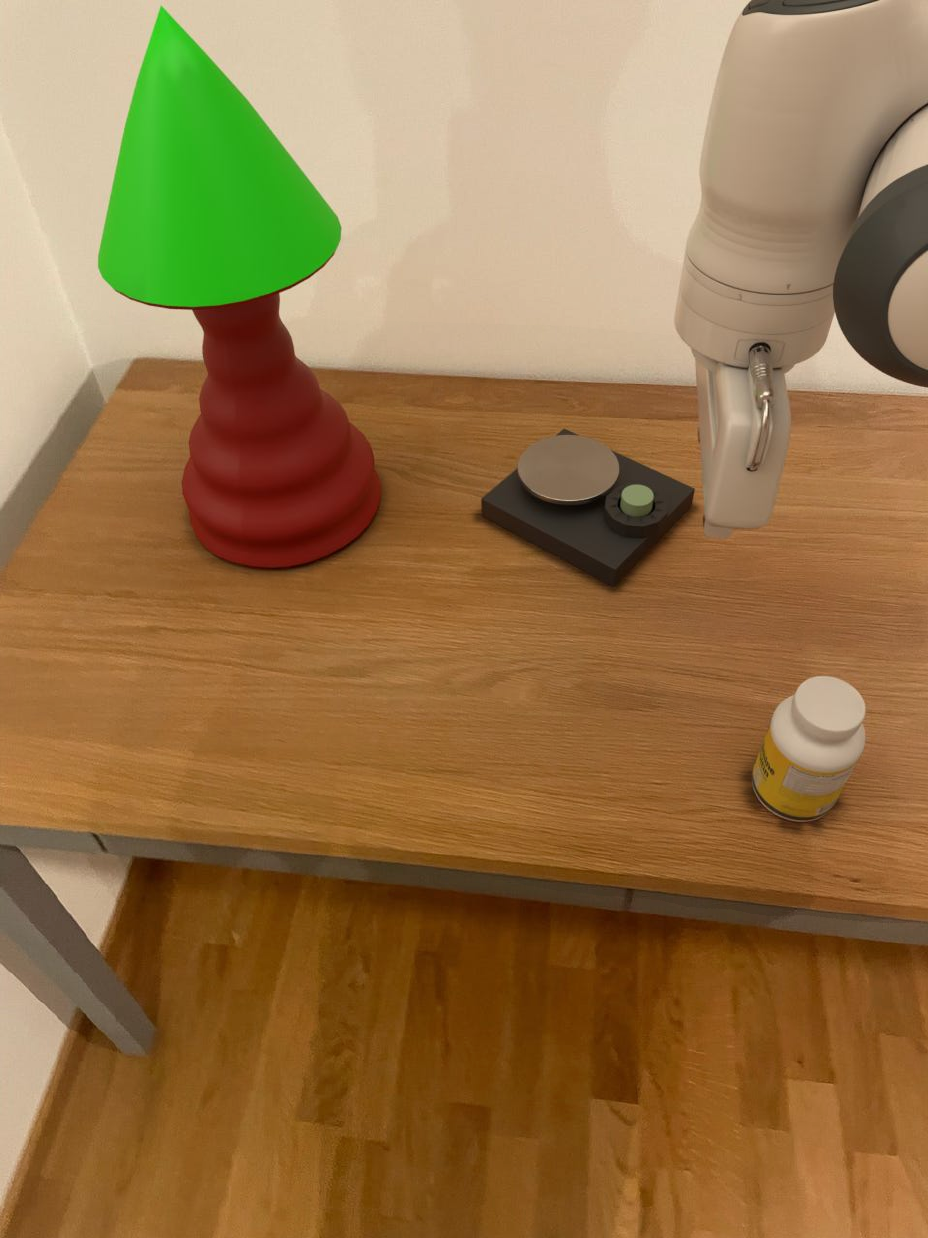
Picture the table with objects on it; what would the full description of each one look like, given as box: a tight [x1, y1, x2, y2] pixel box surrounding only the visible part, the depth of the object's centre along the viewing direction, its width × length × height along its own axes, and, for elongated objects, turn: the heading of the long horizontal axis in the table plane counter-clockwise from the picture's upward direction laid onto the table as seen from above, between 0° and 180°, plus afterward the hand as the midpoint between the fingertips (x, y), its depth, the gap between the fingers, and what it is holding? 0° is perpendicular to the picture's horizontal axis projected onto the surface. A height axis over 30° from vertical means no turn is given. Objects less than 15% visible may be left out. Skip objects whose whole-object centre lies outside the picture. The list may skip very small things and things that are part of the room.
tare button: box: [620, 485, 654, 517], centre depth 88 cm, size 3×3×2 cm
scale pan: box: [517, 434, 619, 505], centre depth 91 cm, size 10×10×1 cm
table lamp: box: [97, 5, 382, 569], centre depth 79 cm, size 20×20×45 cm
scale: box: [480, 428, 696, 587], centre depth 92 cm, size 16×14×4 cm
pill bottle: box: [751, 675, 867, 823], centre depth 68 cm, size 6×6×12 cm
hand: (712, 483), depth 64 cm, fingers open, 8 cm apart
